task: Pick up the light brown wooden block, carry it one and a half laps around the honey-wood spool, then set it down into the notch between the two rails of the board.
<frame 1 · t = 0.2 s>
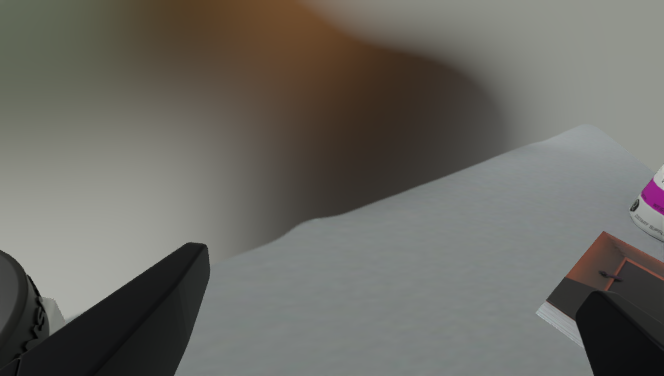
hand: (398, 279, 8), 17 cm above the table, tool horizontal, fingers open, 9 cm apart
supplement can: (662, 230, 44), on the table
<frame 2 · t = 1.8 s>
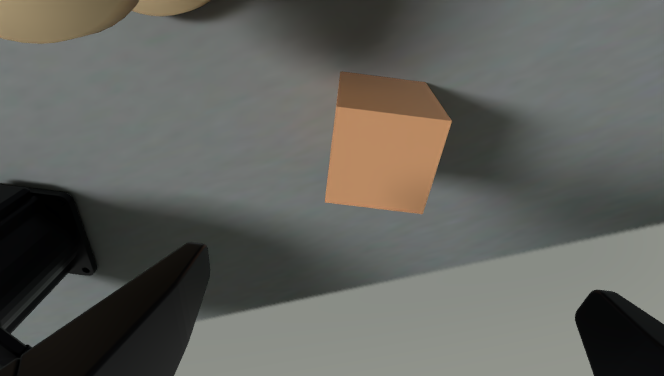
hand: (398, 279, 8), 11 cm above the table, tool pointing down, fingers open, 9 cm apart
light brown wooden block: (375, 117, 17), on the table
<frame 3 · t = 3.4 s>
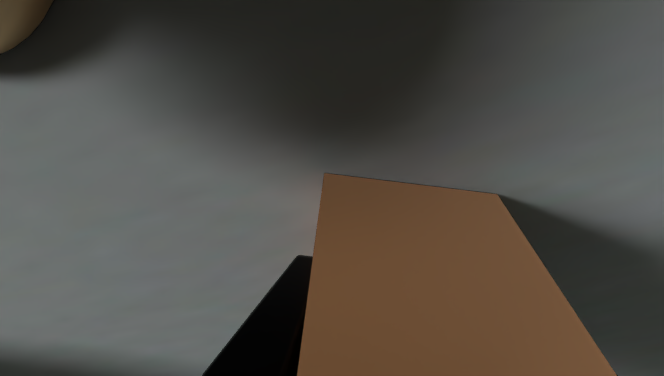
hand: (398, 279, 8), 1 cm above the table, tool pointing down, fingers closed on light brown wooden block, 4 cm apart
light brown wooden block: (393, 249, 9), on the table, touching gripper
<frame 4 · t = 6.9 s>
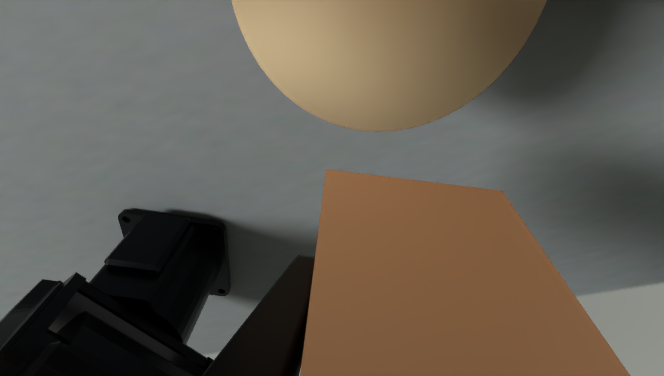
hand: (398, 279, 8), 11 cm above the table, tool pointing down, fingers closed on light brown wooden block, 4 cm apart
light brown wooden block: (395, 246, 9), point 10 cm above the table, touching gripper
when the fingers open (4 cm above the table, at t = 10.4 s): light brown wooden block drops 2 cm, resting on notch board.
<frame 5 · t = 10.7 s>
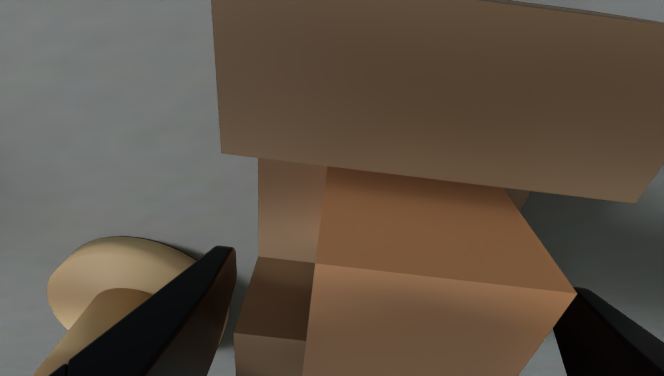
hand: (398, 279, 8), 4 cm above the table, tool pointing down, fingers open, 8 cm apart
spool: (149, 298, 15), on the table
light brown wooden block: (389, 201, 10), point 1 cm above the table, touching notch board
notch board: (385, 188, 11), on the table
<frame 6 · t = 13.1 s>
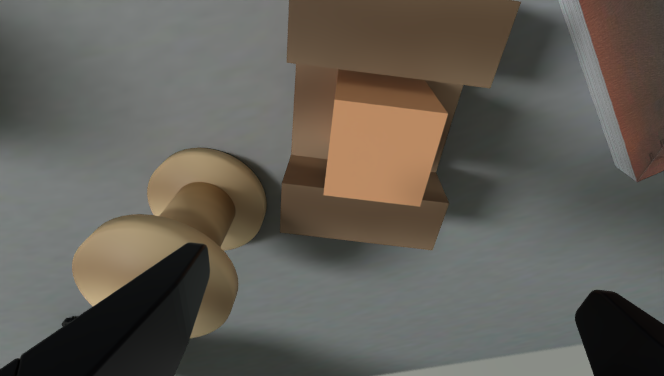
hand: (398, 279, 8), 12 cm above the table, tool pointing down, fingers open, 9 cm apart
spool: (211, 198, 22), on the table
light brown wooden block: (373, 112, 17), point 1 cm above the table, touching notch board
notch board: (371, 109, 18), on the table
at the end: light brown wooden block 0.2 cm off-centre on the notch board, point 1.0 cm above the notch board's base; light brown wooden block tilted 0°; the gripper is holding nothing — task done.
